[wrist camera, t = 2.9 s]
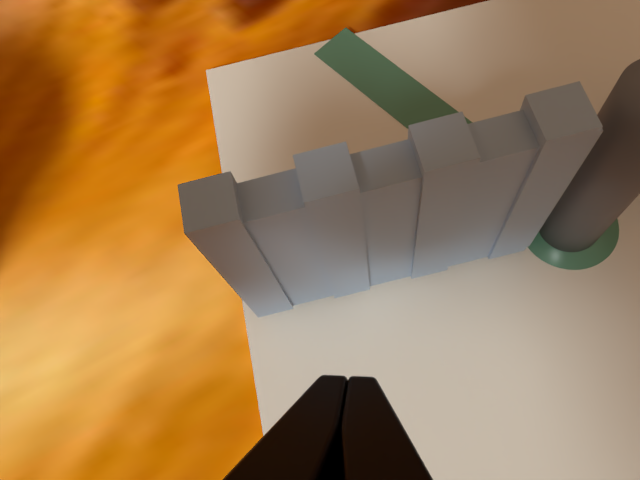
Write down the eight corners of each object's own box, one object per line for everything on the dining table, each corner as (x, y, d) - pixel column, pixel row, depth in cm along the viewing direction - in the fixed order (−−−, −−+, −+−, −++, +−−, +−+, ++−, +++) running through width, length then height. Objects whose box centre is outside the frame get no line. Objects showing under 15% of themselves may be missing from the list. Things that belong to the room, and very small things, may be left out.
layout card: (948, 497, 15) (960, 498, 15) (297, 639, 15) (295, 642, 15) (629, -37, 23) (632, -44, 23) (207, 67, 23) (204, 62, 23)
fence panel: (517, 216, 19) (588, 78, 12) (530, 249, 18) (612, 123, 12) (252, 283, 19) (178, 184, 12) (258, 317, 18) (184, 233, 12)
